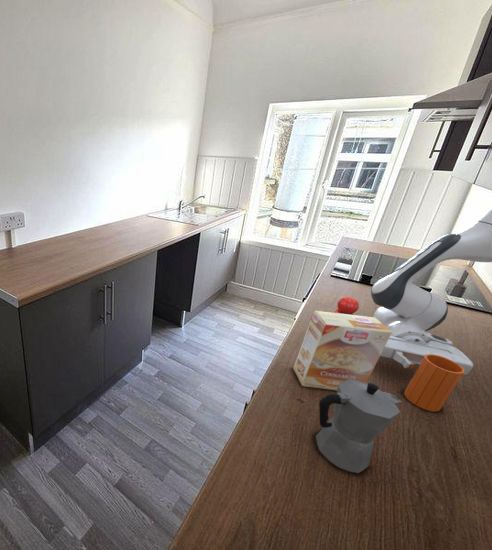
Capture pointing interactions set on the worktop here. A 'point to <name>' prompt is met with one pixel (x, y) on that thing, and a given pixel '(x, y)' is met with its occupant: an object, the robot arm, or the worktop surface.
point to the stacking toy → (347, 306)
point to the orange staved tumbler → (433, 382)
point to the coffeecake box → (339, 349)
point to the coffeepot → (354, 423)
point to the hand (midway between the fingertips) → (433, 371)
